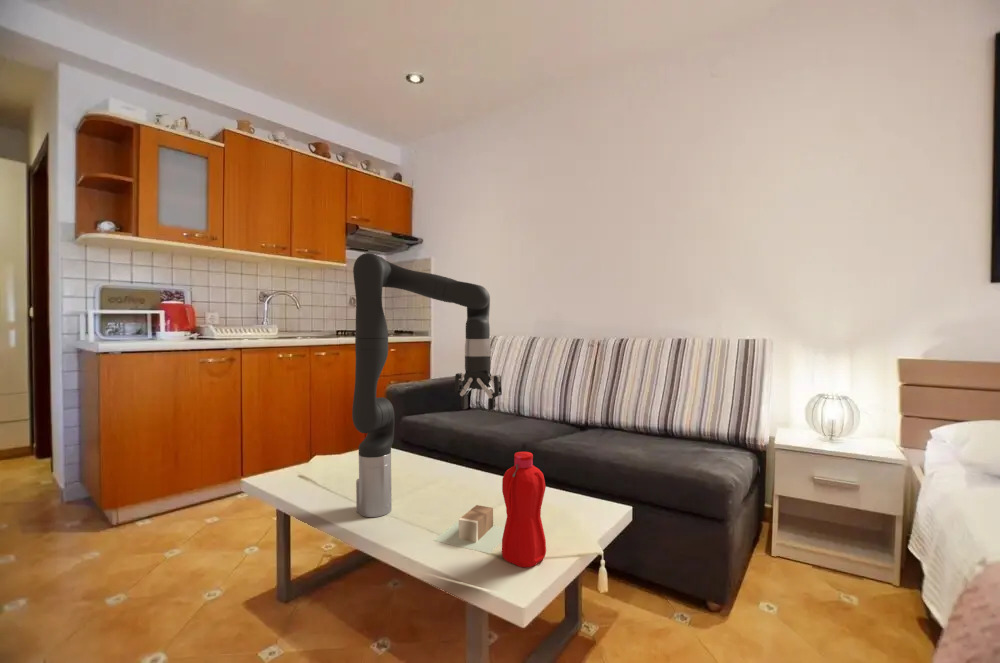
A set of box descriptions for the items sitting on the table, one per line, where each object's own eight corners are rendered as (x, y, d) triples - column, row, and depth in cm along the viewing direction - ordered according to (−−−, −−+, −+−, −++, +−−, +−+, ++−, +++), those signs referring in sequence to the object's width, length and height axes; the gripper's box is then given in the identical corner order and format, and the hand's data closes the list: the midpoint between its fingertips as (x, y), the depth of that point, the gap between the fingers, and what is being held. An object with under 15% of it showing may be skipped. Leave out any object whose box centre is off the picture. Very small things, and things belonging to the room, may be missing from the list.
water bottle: (491, 563, 106) (490, 455, 105) (520, 544, 114) (519, 445, 114) (523, 577, 100) (523, 463, 99) (551, 556, 108) (551, 452, 108)
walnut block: (476, 522, 126) (458, 538, 117) (476, 504, 126) (458, 519, 116) (493, 526, 124) (476, 542, 115) (493, 507, 124) (476, 522, 114)
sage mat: (433, 542, 116) (433, 540, 116) (460, 520, 128) (460, 518, 128) (490, 555, 109) (490, 553, 109) (513, 530, 122) (513, 529, 122)
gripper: (449, 354, 133) (450, 410, 133) (494, 355, 127) (494, 414, 127) (462, 352, 139) (463, 405, 140) (505, 354, 133) (505, 409, 134)
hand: (478, 409), depth 133 cm, fingers open, 8 cm apart
